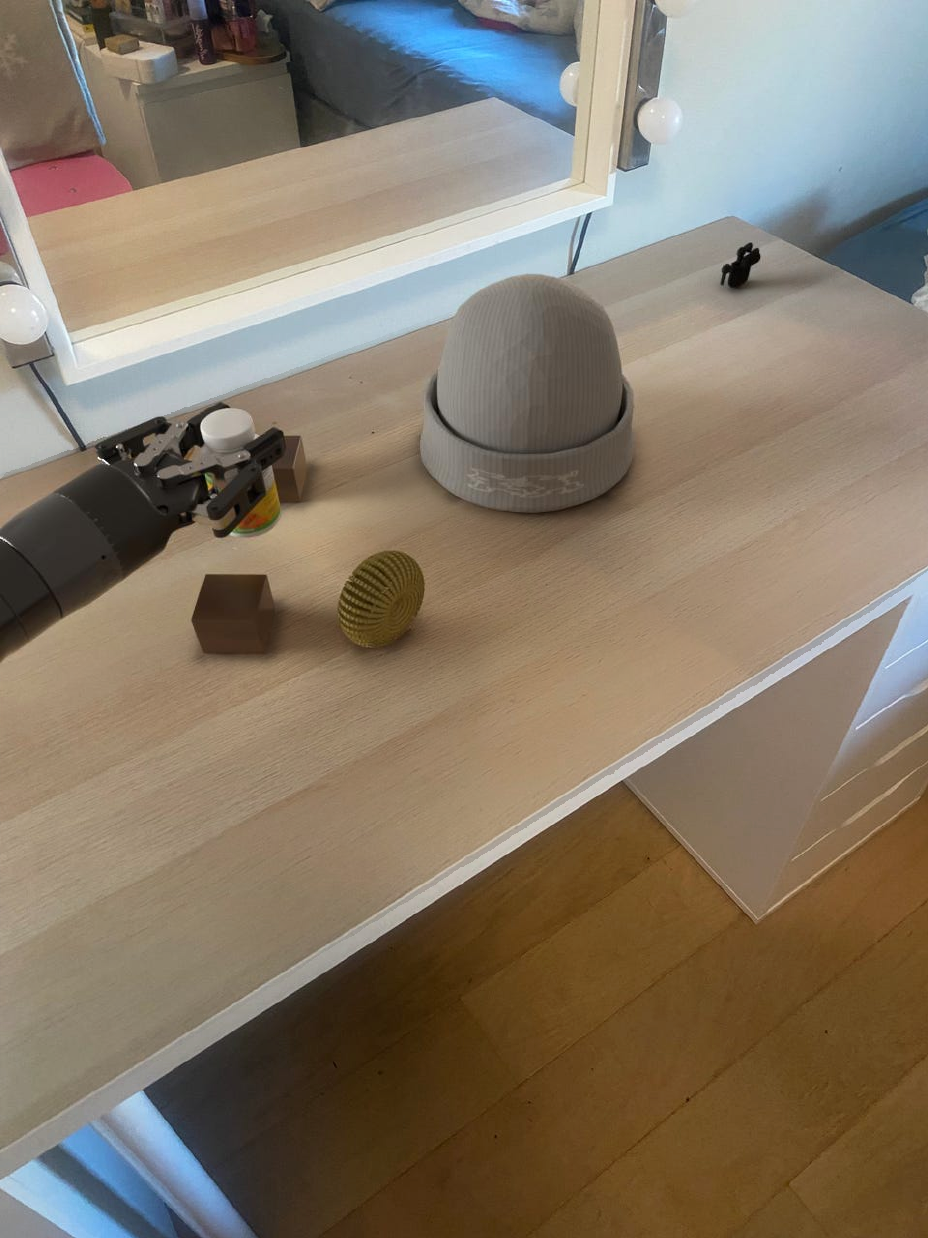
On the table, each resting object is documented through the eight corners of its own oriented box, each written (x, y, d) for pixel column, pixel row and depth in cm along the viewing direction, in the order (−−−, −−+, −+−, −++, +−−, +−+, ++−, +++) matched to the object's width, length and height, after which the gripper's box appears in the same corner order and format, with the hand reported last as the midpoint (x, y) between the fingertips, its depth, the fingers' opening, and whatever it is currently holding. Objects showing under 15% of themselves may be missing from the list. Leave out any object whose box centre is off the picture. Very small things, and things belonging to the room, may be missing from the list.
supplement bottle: (207, 534, 75) (178, 438, 67) (233, 494, 78) (208, 398, 71) (267, 544, 74) (244, 447, 67) (291, 503, 77) (272, 407, 70)
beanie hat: (419, 541, 91) (396, 463, 72) (433, 352, 96) (415, 232, 77) (625, 550, 90) (659, 474, 71) (629, 359, 95) (662, 238, 75)
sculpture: (401, 594, 75) (393, 522, 69) (437, 616, 74) (432, 545, 68) (334, 651, 71) (319, 580, 65) (370, 675, 69) (359, 605, 64)
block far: (256, 468, 87) (248, 435, 84) (307, 468, 87) (301, 435, 84) (247, 502, 84) (238, 468, 81) (300, 502, 84) (293, 468, 81)
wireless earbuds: (748, 273, 111) (757, 233, 107) (765, 280, 110) (775, 239, 106) (713, 292, 108) (722, 252, 104) (730, 300, 107) (739, 259, 103)
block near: (216, 607, 75) (205, 573, 72) (275, 607, 75) (266, 574, 72) (203, 653, 71) (190, 620, 68) (265, 653, 71) (255, 620, 68)
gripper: (132, 542, 57) (314, 414, 66) (-2, 462, 62) (182, 355, 72) (163, 622, 62) (327, 494, 71) (37, 541, 68) (203, 433, 77)
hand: (253, 425), depth 71 cm, fingers closed on supplement bottle, 5 cm apart
